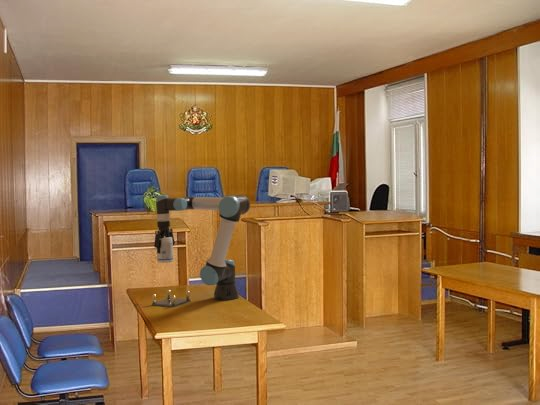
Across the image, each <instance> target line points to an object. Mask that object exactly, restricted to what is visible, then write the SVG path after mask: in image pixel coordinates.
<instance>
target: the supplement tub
mask: <svg viewBox="0 0 540 405" xmlns="http://www.w3.org/2000/svg"><path fill="white" fill-rule="evenodd" d="M159 240H161V248H162V259H158V253H157V252H156V259H157V263H160V264H161V263H162V264H163V263H164V264H165V263H172V262H173V261H174V248H173V247H174V246H173V240H172V237H165V236H164V238H162V239H159Z"/></svg>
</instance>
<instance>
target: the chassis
mask: <svg viewBox="0 0 540 405" xmlns="http://www.w3.org/2000/svg"><path fill="white" fill-rule="evenodd" d="M185 293H186V294H185V297H186V298H177V297H176V295H171V289H166V295H167V296H166V297H167V298H164V299H161V300H157V296H156V293H154V294H151V296H152V300H151V301H152V303H151V305H152V306H154V305H155V306H156V307H167V308H176V307H178V306H181V305H186V304H188V303H191V297H190V296H191V295H190V293H191V292H190V290H186V292H185ZM155 306H154V307H155Z"/></svg>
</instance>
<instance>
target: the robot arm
mask: <svg viewBox="0 0 540 405" xmlns="http://www.w3.org/2000/svg"><path fill="white" fill-rule="evenodd" d="M155 205H156V220H157V222H156V223H157V225H156V226H157V228H158V230H155V231H154V233H155V234H154V235H155V238H154V243H153V244H154V246H153V247H154V249H156V254H157V253H158V259H162V248H161V240H159V239H162V238H164V237H172V240H173V247H174V246H175V244H176V242H175V238H174V232H173V230H174V229H173V228H170V227H171V222H170V220H171V217H170V212H171V211H176V212H178V211H179V212H181V211H182V212H183V211H185V210H205V211H206V210H207V211H219V214H218V215H219V219H220V222H219V226H218V229H217V233H216V237H215V239H214V243H213V247H212V250H211V254H210V257H209V258H207V259H206V262H205V265H204V266H202V267H201V269H200V271H199V277H200V279H201V281H202V283H204V284H205V285H207V286H215V285H216V286H215V289H214V293H213V299H214V300H217V301H218V300H219V301H229V300H230V301H231V300H236V299H238V298H239V297H240V293H239V290H238V288H237V284H236V263H235V261H234V260H233V259H227V258H226V257H227V254H228V252H229V248H230V247H229V246H230V243H231V240H232V237H233V233H234V230H235V227H236V224H237V223H239V221H240V218H241V215H245V214H247V213H248V212H249V211H250V208H251V202H250V199H249V198H248V197H247V196H245V195H243V194H235V195H231V194H230V195H228V196H227V195H226V196H224V197H214V196H213V197H211V196H210V197H207V196H205V197H204V196H186V197H185V196H184V197H173V198H172V197H171V198H170V197H169V195H167V194H165V195H164V194H162V195H161V194H159V195H156V196H155Z"/></svg>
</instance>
